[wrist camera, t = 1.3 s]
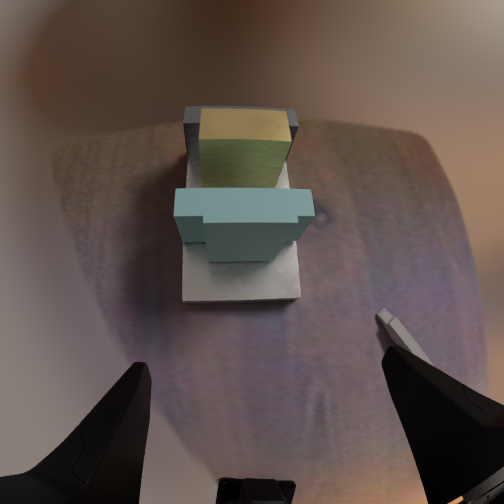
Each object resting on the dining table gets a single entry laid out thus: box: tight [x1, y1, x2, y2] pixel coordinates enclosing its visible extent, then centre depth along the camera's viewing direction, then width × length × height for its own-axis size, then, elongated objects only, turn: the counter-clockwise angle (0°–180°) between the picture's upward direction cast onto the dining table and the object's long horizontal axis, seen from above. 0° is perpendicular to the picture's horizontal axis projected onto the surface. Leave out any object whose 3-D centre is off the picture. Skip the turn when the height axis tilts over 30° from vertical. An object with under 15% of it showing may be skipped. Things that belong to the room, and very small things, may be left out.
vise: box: [182, 106, 301, 304], centre depth 21 cm, size 15×9×6 cm, turn 3°
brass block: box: [199, 108, 292, 188], centre depth 20 cm, size 3×6×7 cm, turn 93°
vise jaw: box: [174, 188, 315, 262], centre depth 18 cm, size 4×9×7 cm, turn 93°
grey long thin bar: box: [376, 308, 434, 366], centre depth 18 cm, size 20×1×6 cm, turn 36°
